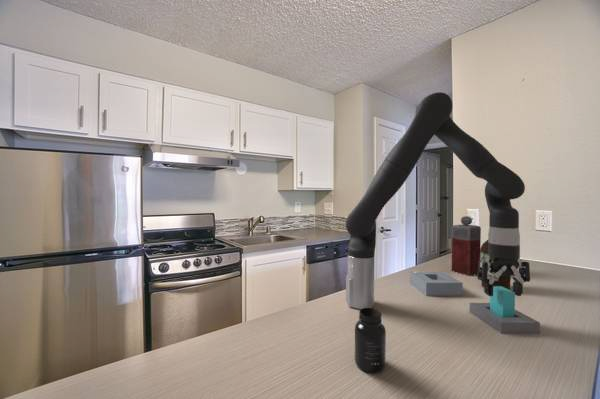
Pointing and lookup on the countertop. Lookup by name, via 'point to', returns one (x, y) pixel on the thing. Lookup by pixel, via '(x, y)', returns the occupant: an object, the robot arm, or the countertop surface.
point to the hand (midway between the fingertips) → (503, 295)
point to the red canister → (466, 247)
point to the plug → (502, 302)
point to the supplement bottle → (370, 341)
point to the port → (436, 284)
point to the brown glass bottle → (502, 280)
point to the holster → (505, 320)
